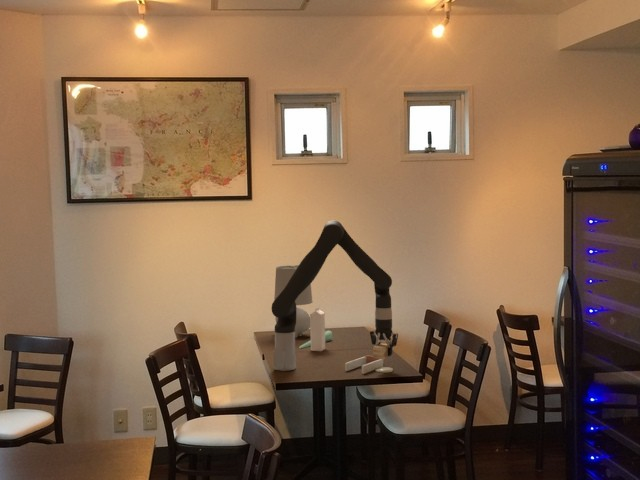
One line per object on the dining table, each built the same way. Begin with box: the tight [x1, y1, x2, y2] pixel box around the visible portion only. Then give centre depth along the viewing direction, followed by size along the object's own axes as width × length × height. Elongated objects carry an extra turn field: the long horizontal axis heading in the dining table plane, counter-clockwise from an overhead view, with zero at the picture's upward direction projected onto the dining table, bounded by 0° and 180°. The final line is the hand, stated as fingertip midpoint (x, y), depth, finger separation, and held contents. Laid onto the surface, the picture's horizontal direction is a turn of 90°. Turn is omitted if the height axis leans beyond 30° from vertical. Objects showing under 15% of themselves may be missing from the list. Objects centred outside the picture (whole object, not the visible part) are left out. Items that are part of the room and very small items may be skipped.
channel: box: [344, 354, 385, 375], centre depth 320 cm, size 17×10×4 cm, turn 142°
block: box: [372, 343, 393, 360], centre depth 313 cm, size 8×5×5 cm, turn 146°
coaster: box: [374, 366, 394, 374], centre depth 315 cm, size 8×8×1 cm
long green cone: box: [298, 330, 334, 350], centre depth 375 cm, size 5×6×27 cm
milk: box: [309, 306, 326, 352], centre depth 360 cm, size 6×6×22 cm
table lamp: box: [273, 264, 313, 338], centre depth 397 cm, size 23×22×40 cm
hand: (384, 354), depth 315 cm, fingers closed on block, 5 cm apart
